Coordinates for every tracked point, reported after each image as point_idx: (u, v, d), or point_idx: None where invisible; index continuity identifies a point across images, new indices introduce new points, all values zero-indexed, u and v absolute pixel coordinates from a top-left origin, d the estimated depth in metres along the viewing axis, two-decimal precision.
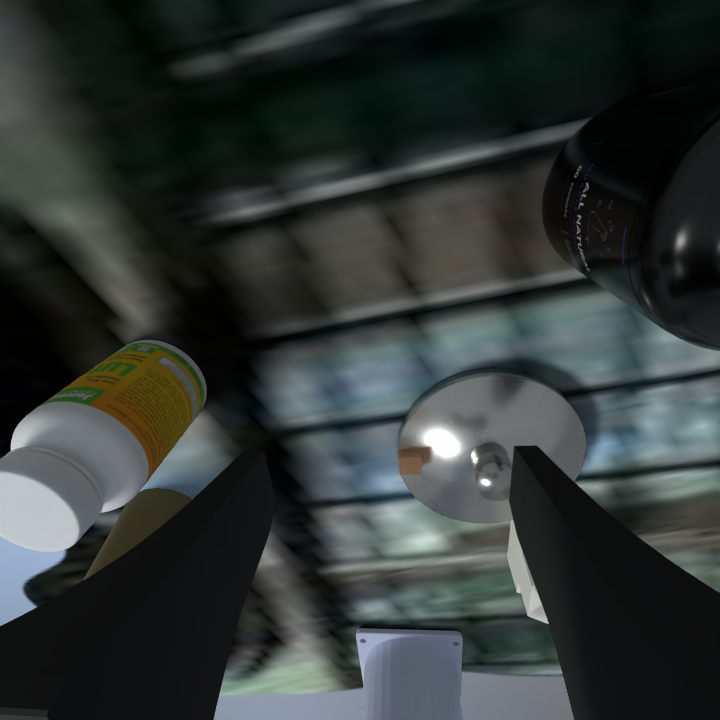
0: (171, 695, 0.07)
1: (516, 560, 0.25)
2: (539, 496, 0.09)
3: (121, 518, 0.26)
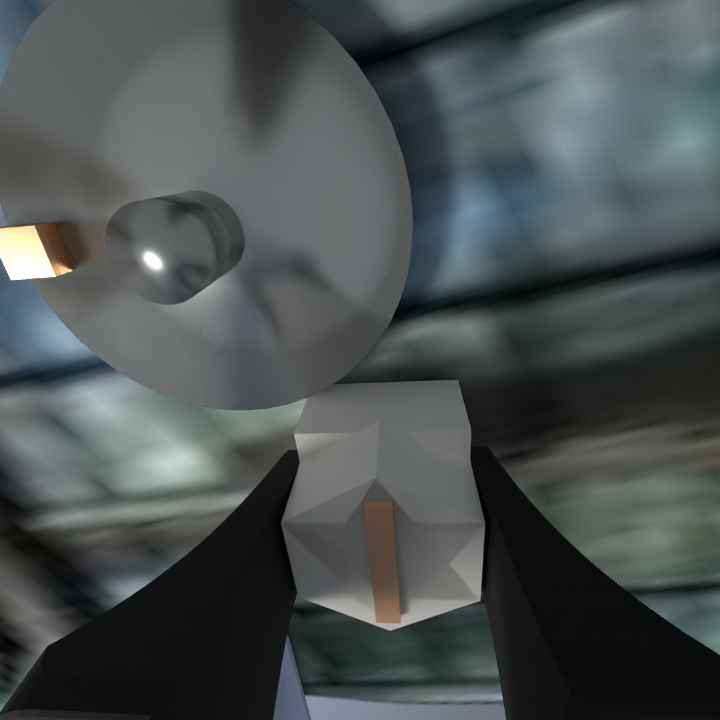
0: (242, 699, 0.07)
1: None
2: (480, 496, 0.10)
3: None
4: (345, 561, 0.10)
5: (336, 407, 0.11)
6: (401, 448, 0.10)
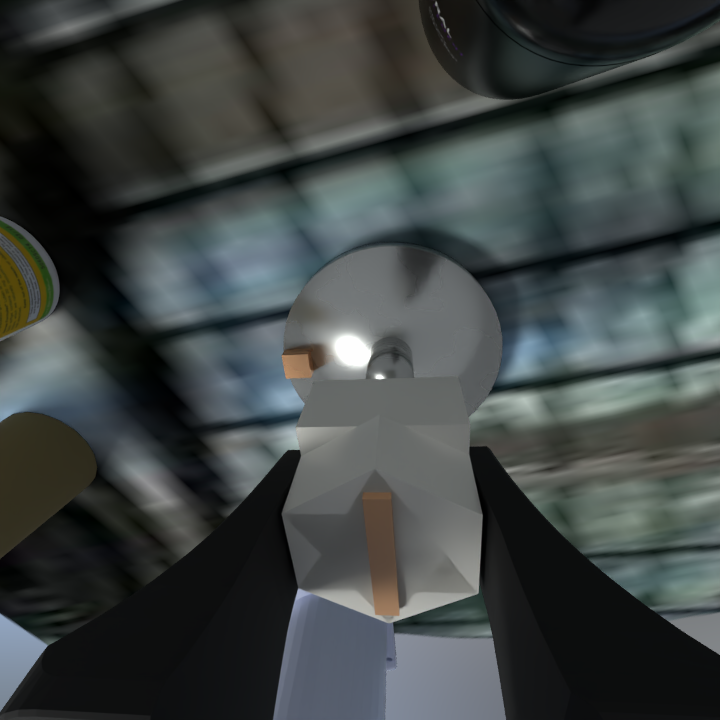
0: (241, 699, 0.07)
1: None
2: (480, 496, 0.10)
3: None
4: (345, 552, 0.10)
5: (337, 402, 0.12)
6: (400, 441, 0.10)
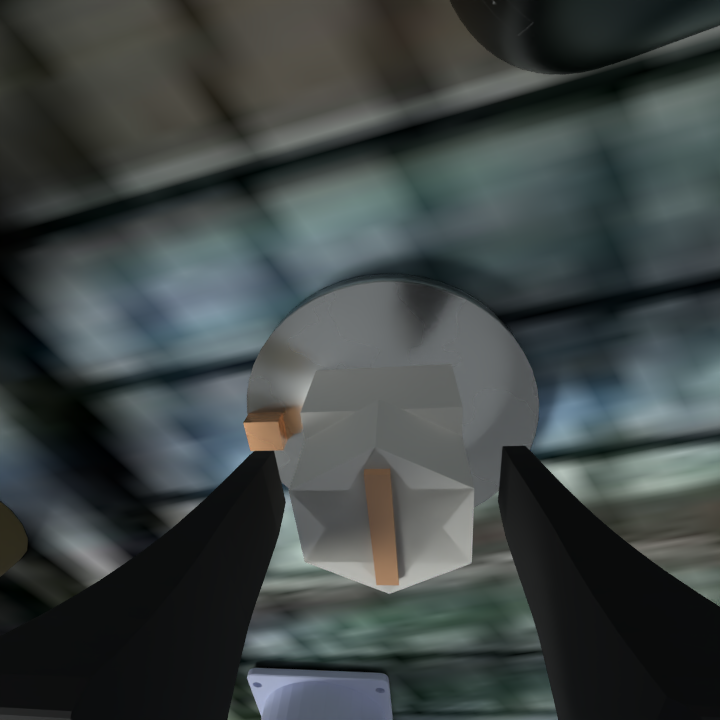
0: (187, 696, 0.07)
1: None
2: (525, 496, 0.09)
3: None
4: (348, 526, 0.10)
5: (338, 389, 0.12)
6: (398, 423, 0.10)
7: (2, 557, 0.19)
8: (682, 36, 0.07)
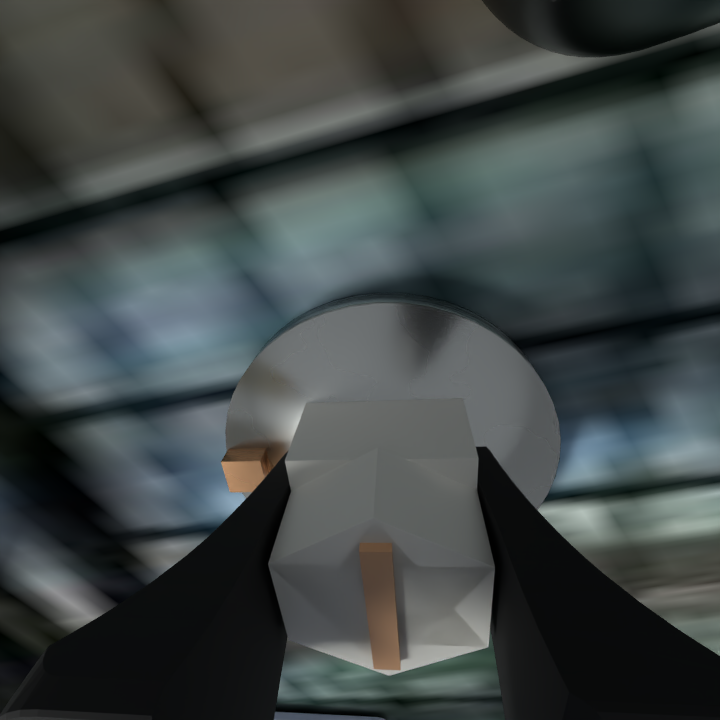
0: (243, 698, 0.07)
1: None
2: (479, 496, 0.10)
3: None
4: (339, 603, 0.09)
5: (331, 429, 0.11)
6: (402, 480, 0.09)
7: None
8: None
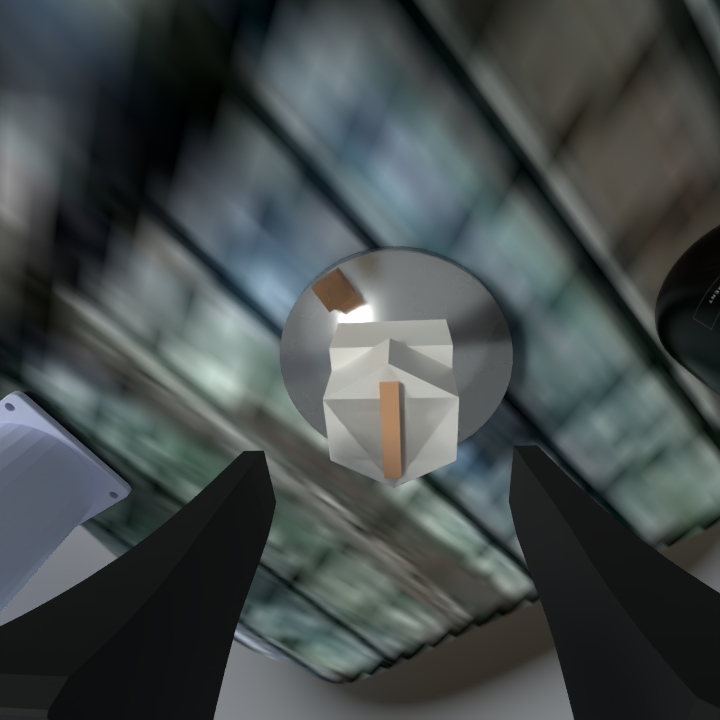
0: (171, 695, 0.07)
1: None
2: (539, 496, 0.09)
3: None
4: (365, 429, 0.14)
5: (357, 334, 0.16)
6: (404, 353, 0.14)
7: None
8: None
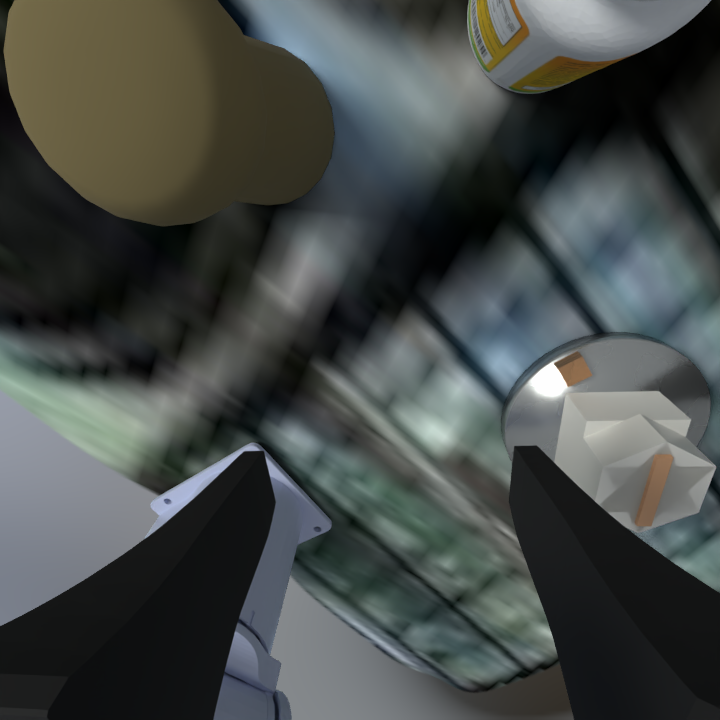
0: (171, 695, 0.07)
1: (572, 453, 0.20)
2: (539, 496, 0.09)
3: (271, 45, 0.15)
4: (630, 488, 0.18)
5: (596, 406, 0.20)
6: (660, 428, 0.18)
7: (284, 200, 0.18)
8: None
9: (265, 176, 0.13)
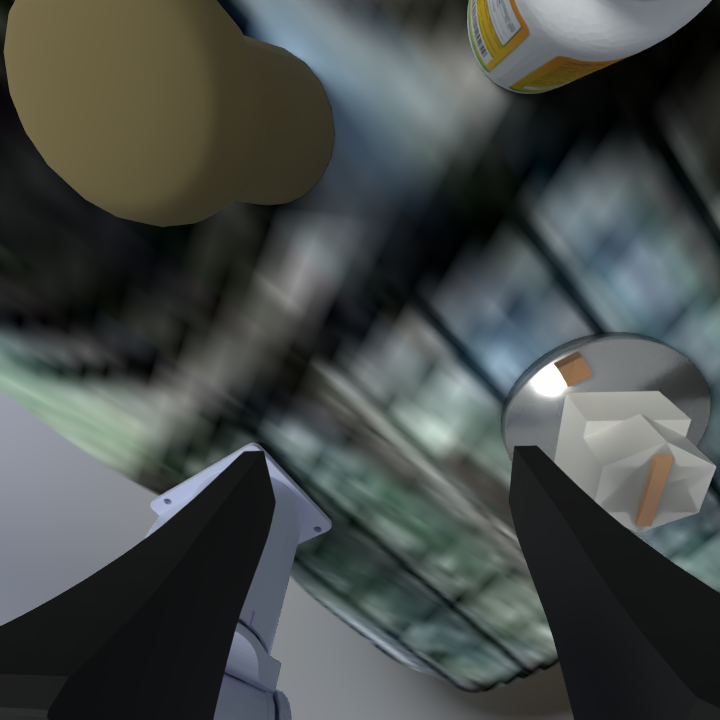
0: (171, 695, 0.07)
1: (572, 453, 0.20)
2: (539, 496, 0.09)
3: (271, 45, 0.15)
4: (630, 488, 0.18)
5: (596, 406, 0.20)
6: (660, 428, 0.18)
7: (284, 200, 0.18)
8: None
9: (265, 176, 0.13)
